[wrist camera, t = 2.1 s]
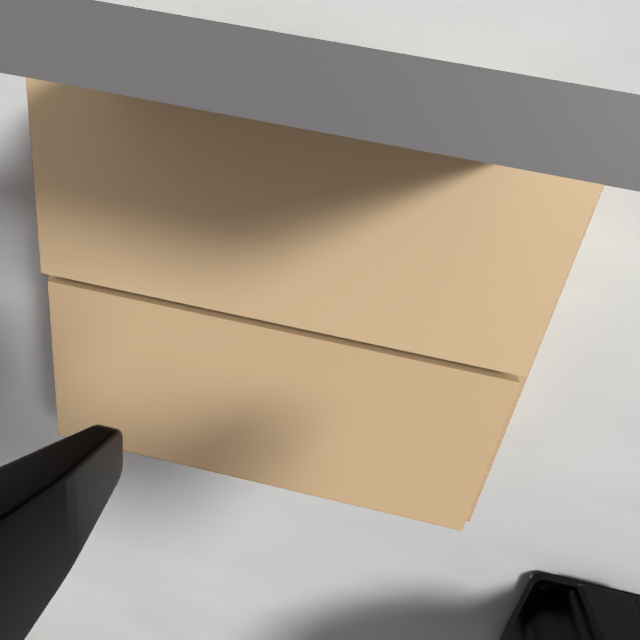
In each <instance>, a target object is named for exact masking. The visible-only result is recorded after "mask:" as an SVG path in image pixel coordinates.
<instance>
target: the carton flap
mask: <svg viewBox="0 0 640 640" xmlns="http://www.w3.org/2000/svg"><path fill="white" fill-rule="evenodd" d="M0 72H1V73H6V74H11V75H17V76H22V77H26V84H27V97H28V110H29V123H30V136H31V149H32V162H33V175H34V188H35V201H36V214H37V227H38V240H39V253H40V266H41V273H43V274H48V275H52V276H57V277H62V278H66V279H71V280H76V281H80V282H85V283H90V284H94V285H99V286H104V287H108V288H113V289H118V290H122V291H127V292H132V293H136V294H141V295H146V296H150V297H155V298H160V299H164V300H169V301H174V302H178V303H183V304H188V305H192V306H197V307H202V308H206V309H211V310H216V311H220V312H225V313H230V314H234V315H239V316H244V317H248V318H253V319H258V320H262V321H267V322H272V323H276V324H281V325H286V326H290V327H295V328H300V329H304V330H309V331H314V332H318V333H323V334H328V335H332V336H337V337H342V338H346V339H351V340H356V341H360V342H365V343H370V344H374V345H379V346H384V347H388V348H393V349H398V350H402V351H407V352H412V353H416V354H421V355H426V356H430V357H435V358H440V359H445V360H449V361H454V362H459V363H463V364H468V365H473V366H477V367H482V368H487V369H491V370H496V371H501V372H505V373H510V374H515V375H519V376H524V377H527V375H528V373H529V370H530V368H531V365H532V363H533V360H534V358H535V355H536V353H537V350H538V348H539V345H540V343H541V340H542V338H543V335H544V333H545V330H546V328H547V325H548V323H549V320H550V318H551V315H552V313H553V310H554V308H555V305H556V303H557V300H558V298H559V295H560V293H561V290H562V288H563V285H564V283H565V280H566V278H567V275H568V273H569V270H570V268H571V265H572V263H573V260H574V258H575V255H576V253H577V250H578V248H579V245H580V243H581V240H582V238H583V235H584V233H585V230H586V228H587V225H588V223H589V220H590V218H591V215H592V213H593V210H594V208H595V205H596V203H597V201H598V198H599V196H600V193H601V191H602V188H603V186H604V185H608V186H613V187H618V188H624V189H629V190H634V191H640V95H637V94H631V93H626V92H620V91H614V90H608V89H602V88H597V87H591V86H585V85H579V84H574V83H568V82H562V81H556V80H550V79H545V78H539V77H533V76H527V75H522V74H516V73H510V72H504V71H499V70H493V69H487V68H481V67H475V66H470V65H464V64H458V63H452V62H447V61H441V60H435V59H429V58H424V57H418V56H412V55H406V54H400V53H395V52H389V51H383V50H377V49H372V48H366V47H360V46H354V45H348V44H343V43H337V42H331V41H325V40H320V39H314V38H308V37H302V36H297V35H291V34H285V33H279V32H273V31H268V30H262V29H256V28H250V27H245V26H239V25H233V24H227V23H221V22H216V21H210V20H204V19H198V18H193V17H187V16H181V15H175V14H170V13H164V12H158V11H152V10H146V9H141V8H135V7H129V6H123V5H118V4H112V3H106V2H100V1H94V0H0Z"/></svg>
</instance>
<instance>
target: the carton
mask: <svg viewBox="0 0 640 640" xmlns="http://www.w3.org/2000/svg"><path fill="white" fill-rule="evenodd" d="M603 187H604V186H603ZM602 190H603V188H602ZM601 192H602V191H601ZM600 195H601V193H600ZM599 197H600V196H599ZM598 200H599V198H598ZM597 202H598V201H597ZM596 205H597V203H596ZM596 205H595V207H596ZM594 210H595V208H594ZM594 210H593V212H594ZM592 215H593V213H592ZM592 215H591V217H592ZM590 220H591V218H590ZM590 220H589V222H590ZM588 225H589V223H588ZM588 225H587V227H588ZM586 230H587V228H586ZM586 230H585V232H586ZM584 235H585V233H584ZM584 235H583V237H584ZM582 240H583V238H582ZM582 240H581V242H582ZM580 245H581V243H580ZM580 245H579V247H580ZM578 250H579V248H578ZM578 250H577V252H578ZM576 255H577V253H576ZM576 255H575V257H576ZM574 260H575V258H574ZM574 260H573V262H574ZM572 265H573V263H572ZM572 265H571V267H572ZM570 270H571V268H570ZM570 270H569V272H570ZM568 275H569V273H568ZM568 275H567V277H568ZM48 278H49V281H47V282H48V296H49V310H50V324H51V337H52V351H53V365H54V379H55V393H56V407H57V421H58V435H60V436H64V437H68V436H71V435H73V434H75V433H77V432H80V431H82V430H84V429H86V428H88V427H91V426H93V425H97V424H98V425H104V426H109V427H113V428H117V429H119V430H120V431H121V432H122V435H123V451H127V452H132V453H136V454H140V455H144V456H148V457H153V458H157V459H161V460H165V461H170V462H174V463H178V464H182V465H186V466H191V467H195V468H199V469H203V470H207V471H212V472H216V473H220V474H224V475H229V476H233V477H237V478H241V479H245V480H250V481H254V482H258V483H262V484H266V485H271V486H275V487H279V488H283V489H288V490H292V491H296V492H300V493H304V494H309V495H313V496H317V497H321V498H325V499H330V500H334V501H338V502H342V503H347V504H351V505H355V506H359V507H363V508H368V509H372V510H376V511H380V512H384V513H389V514H393V515H397V516H401V517H406V518H410V519H414V520H418V521H422V522H427V523H431V524H435V525H439V526H444V527H448V528H452V529H456V530H460V531H462V529H463V526H464V524H465V521H470V519H471V516H472V514H473V511H474V509H475V506H476V504H477V501H478V499H479V496H480V494H481V491H482V489H483V486H484V484H485V481H486V479H487V476H488V474H489V471H490V469H491V466H492V464H493V461H494V459H495V456H496V454H497V451H498V449H499V446H500V444H501V442H502V439H503V437H504V434H505V432H506V429H507V427H508V424H509V422H510V419H511V417H512V414H513V412H514V409H515V407H516V404H517V402H518V399H519V397H520V394H521V392H522V389H523V387H524V384H525V382H526V379H527V377H528V375H527V377H524V376H519V375H515V374H510V373H505V372H501V371H496V370H491V369H487V368H482V367H477V366H473V365H468V364H463V363H459V362H454V361H449V360H445V359H440V358H435V357H430V356H426V355H421V354H416V353H412V352H407V351H402V350H398V349H393V348H388V347H384V346H379V345H374V344H370V343H365V342H360V341H356V340H351V339H346V338H342V337H337V336H332V335H328V334H323V333H318V332H314V331H309V330H304V329H300V328H295V327H290V326H286V325H281V324H276V323H272V322H267V321H262V320H258V319H253V318H248V317H244V316H239V315H234V314H230V313H225V312H220V311H216V310H211V309H206V308H202V307H197V306H192V305H188V304H183V303H178V302H174V301H169V300H164V299H160V298H155V297H150V296H146V295H141V294H136V293H132V292H127V291H122V290H118V289H113V288H108V287H104V286H99V285H94V284H90V283H85V282H80V281H76V280H71V279H66V278H62V277H57V276H52V275H48ZM566 280H567V278H566ZM566 280H565V282H566ZM564 285H565V283H564ZM564 285H563V287H564ZM562 290H563V288H562ZM562 290H561V292H562ZM560 294H561V293H560ZM559 297H560V295H559ZM558 299H559V298H558ZM557 302H558V300H557ZM556 304H557V303H556ZM555 307H556V305H555ZM554 309H555V308H554ZM553 312H554V310H553ZM552 314H553V313H552ZM551 317H552V315H551ZM550 319H551V318H550ZM549 322H550V320H549ZM548 324H549V323H548ZM547 327H548V325H547ZM546 329H547V328H546ZM545 332H546V330H545ZM544 334H545V333H544ZM543 337H544V335H543ZM542 339H543V338H542ZM541 342H542V340H541ZM540 344H541V343H540ZM539 347H540V345H539ZM538 349H539V348H538ZM537 352H538V350H537ZM536 354H537V353H536ZM535 357H536V355H535ZM534 359H535V358H534ZM533 362H534V360H533ZM532 364H533V363H532ZM531 367H532V365H531ZM530 369H531V368H530ZM529 372H530V370H529ZM528 374H529V373H528Z"/></svg>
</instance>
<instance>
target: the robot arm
mask: <svg viewBox="0 0 640 640" xmlns="http://www.w3.org/2000/svg"><path fill="white" fill-rule="evenodd" d="M122 462H123V435H122V432H121V431H120V430H119V429H117V428H113V427H109V426H104V425H98V424H97V425H93V426H91V427H88V428H86V429H84V430H82V431H80V432H77V433H75V434H73V435H71V436H68V437H66V438H64V439H62V440H59V441H57V442H55V443H53V444H51V445H48V446H46V447H44V448H42V449H39V450H37V451H35V452H33V453H30V454H28V455H26V456H24V457H22V458H19V459H17V460H15V461H13V462H10V463H8V464H6V465H4V466H1V467H0V640H24V639H25V638H26V636H27V635H28V633H29V632H30V630H31V629H32V627H33V626H34V624H35V623H36V621H37V620H38V618H39V617H40V615H41V614H42V612H43V611H44V609H45V608H46V606H47V605H48V603H49V602H50V600H51V599H52V597H53V596H54V594H55V593H56V591H57V590H58V588H59V587H60V585H61V584H62V582H63V581H64V579H65V578H66V576H67V575H68V573H69V571H70V570H71V568H72V566H73V565H74V563H75V561H76V559H77V557H78V556H79V554H80V552H81V550H82V548H83V546H84V545H85V543H86V541H87V539H88V537H89V535H90V533H91V532H92V530H93V528H94V526H95V524H96V522H97V520H98V518H99V517H100V515H101V513H102V511H103V509H104V507H105V505H106V504H107V502H108V500H109V498H110V496H111V494H112V492H113V491H114V489H115V487H116V485H117V483H118V481H119V479H120V476H121V472H122ZM500 640H640V596H637V595H633V594H629V593H624V592H620V591H616V590H612V589H608V588H604V587H599V586H595V585H591V584H587V583H583V582H579V581H575V580H570V579H566V578H562V577H558V576H554V575H550V574H545V573H537V574H535V575H533V577H532V578H531V580H530V582H529V584H528V586H527V588H526V590H525V592H524V594H523V596H522V598H521V600H520V602H519V604H518V606H517V608H516V610H515V612H514V614H513V615H512V617H511V619H510V621H509V623H508V625H507V627H506V629H505V631H504V633H503V635H502V637H501V639H500Z"/></svg>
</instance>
